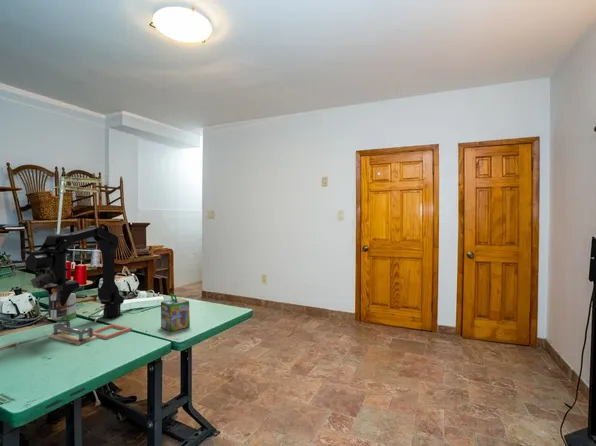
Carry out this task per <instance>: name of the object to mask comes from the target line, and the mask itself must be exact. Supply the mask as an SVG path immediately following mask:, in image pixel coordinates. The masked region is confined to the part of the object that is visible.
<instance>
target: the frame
mask: <svg viewBox="0 0 596 446" xmlns="http://www.w3.org/2000/svg"><path fill="white" fill-rule="evenodd" d="M132 328H133V327H130V326H124V325H120V324H117V323H111V324H108V325H106V326H103V327H100V328H97V329H93V336H96V339H97V338H98V339H102V340H105V341H106V340H110V339H113V338H115V337H117V336H121V335H123V334H126V333H128V332H131V331H133V330H132ZM110 329H116V330H118V331H115V332H112V333H110V334H103V333H102V332H105V331H106V330H110ZM87 336H89V332H88V333H87Z"/></svg>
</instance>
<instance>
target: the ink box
mask: <svg viewBox="0 0 596 446" xmlns="http://www.w3.org/2000/svg"><path fill="white" fill-rule="evenodd" d="M76 318H77V295H76V293H75V292H72V293H71V294H70V296H69V298H68V300H67V315H66V316H64V317H59V318H51V320H52V321H71V320H73V319H76Z"/></svg>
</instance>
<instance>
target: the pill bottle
mask: <svg viewBox="0 0 596 446" xmlns="http://www.w3.org/2000/svg"><path fill="white" fill-rule="evenodd" d="M55 290H59V289H58V288H53V289H52V291H51V292H52V294H50V295H49V296H48V317H49V318H51V319H52V318H59V317H64V316H66V315H67V302H66V304H65V305H64V306H61V303H60V297H59V293H58V292H56V291H55Z"/></svg>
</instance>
